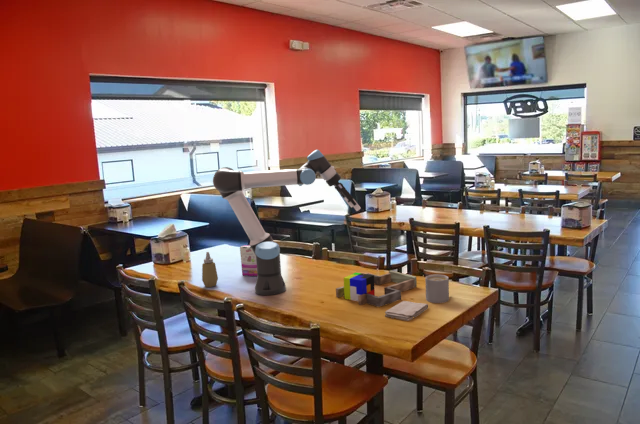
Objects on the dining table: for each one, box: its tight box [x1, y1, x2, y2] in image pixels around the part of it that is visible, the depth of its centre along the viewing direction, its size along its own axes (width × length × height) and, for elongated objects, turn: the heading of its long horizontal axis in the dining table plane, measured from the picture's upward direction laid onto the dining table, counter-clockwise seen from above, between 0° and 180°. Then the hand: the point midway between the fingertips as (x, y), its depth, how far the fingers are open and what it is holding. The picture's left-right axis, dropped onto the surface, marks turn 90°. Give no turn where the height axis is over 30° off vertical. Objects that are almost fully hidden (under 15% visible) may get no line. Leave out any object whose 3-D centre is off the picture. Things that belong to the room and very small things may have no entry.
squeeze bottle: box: [201, 251, 219, 288], centre depth 273 cm, size 8×8×18 cm
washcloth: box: [384, 300, 429, 322], centre depth 220 cm, size 12×18×3 cm, turn 144°
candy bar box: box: [239, 244, 257, 277], centre depth 290 cm, size 11×5×16 cm, turn 68°
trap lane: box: [335, 270, 418, 308], centre depth 249 cm, size 36×32×5 cm
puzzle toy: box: [343, 272, 376, 302], centre depth 242 cm, size 10×10×10 cm
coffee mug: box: [424, 273, 450, 304], centre depth 234 cm, size 13×10×10 cm
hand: (356, 207), depth 275 cm, fingers open, 13 cm apart
